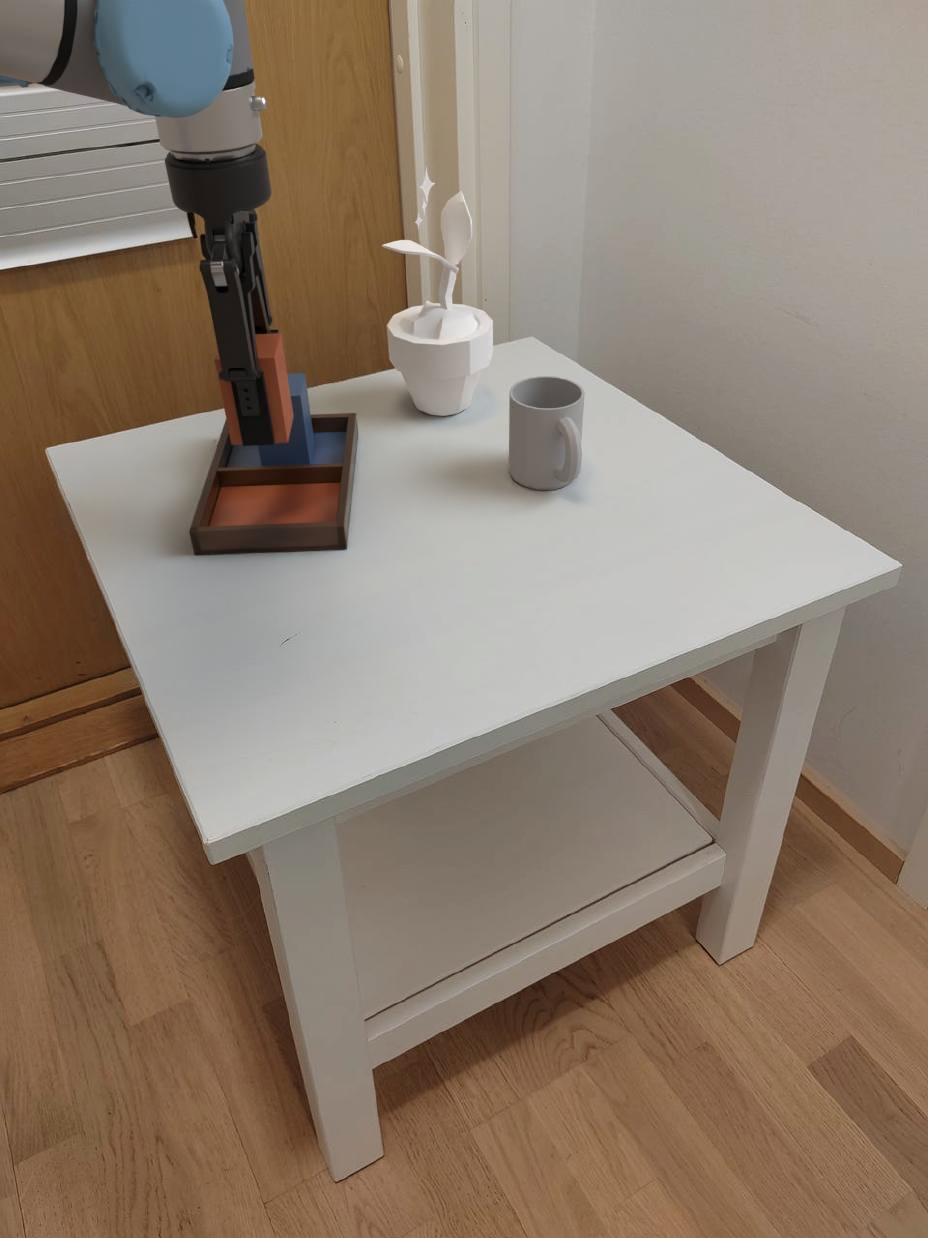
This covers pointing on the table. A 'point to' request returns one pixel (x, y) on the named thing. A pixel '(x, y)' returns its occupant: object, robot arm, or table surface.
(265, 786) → the table surface
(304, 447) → the blue bar
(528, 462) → the cup
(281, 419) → the terracotta bar
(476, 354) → the potted plant
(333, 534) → the tray
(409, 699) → the table surface
